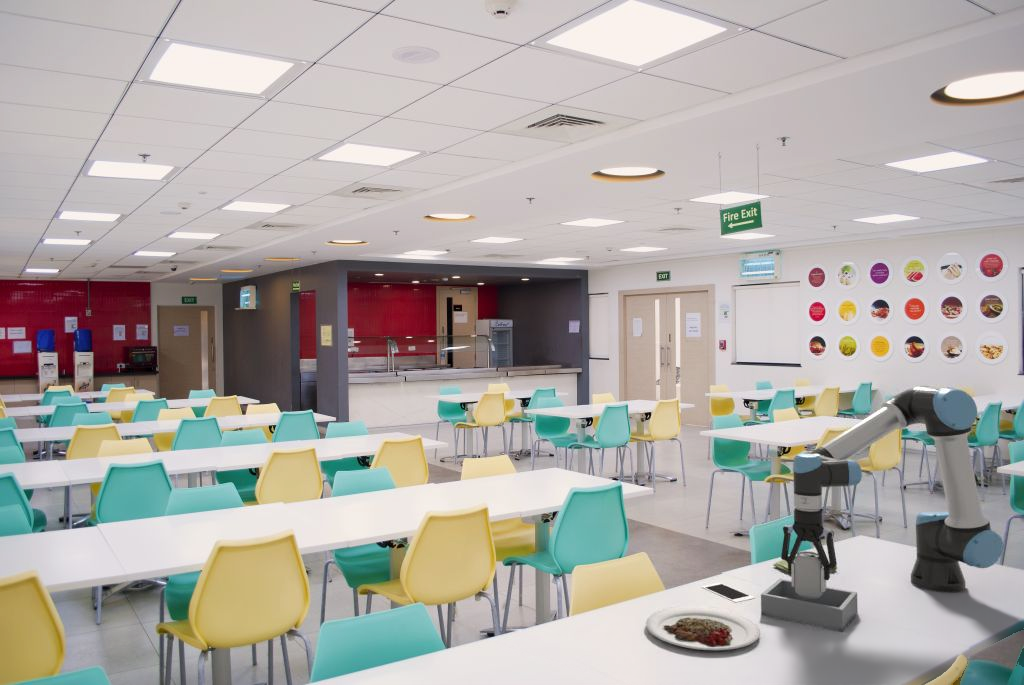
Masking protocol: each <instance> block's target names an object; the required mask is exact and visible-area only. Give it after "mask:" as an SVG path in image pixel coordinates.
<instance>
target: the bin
mask: <svg viewBox="0 0 1024 685" xmlns="http://www.w3.org/2000/svg"><path fill="white" fill-rule="evenodd" d="M760 611H761V612H760V615H761V616H763V617H768V618H773V619H779V620H781V621H782V620H783V621H788V622H793V623H798V624H802V625H807V626H810V627H811V626H812V627H817V628H820V629H825V628H826V630H830V631H834V632H840V633H844V631H845V630H846V629H847V628H848V626H849V625H850V624H849V623H851V622H852V621H853V620H854V619H855V617H856V616H857V615H858V592H856V591H852V590H846V589H842V588H841V589H840V588H835V587H830V586H826V591H825V592H823V595H821V596H820V597H819V598H816V599H809V598H804V597H801V596H799V595H798V594H797V593H796V592H795V587H792V579H789V580H788V579H785V578H784V579H783V578H779V579H777V580H776V581H775V582H774V583H772V585H770V586H768V588H767V589H765V590H764V591H763V592H762V593H761V594H760ZM856 614H857V615H856ZM855 615H856V616H855ZM852 619H853V620H852ZM851 620H852V621H851ZM848 624H849V625H848Z"/></svg>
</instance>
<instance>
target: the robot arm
mask: <svg viewBox="0 0 1024 685" xmlns="http://www.w3.org/2000/svg"><path fill="white" fill-rule="evenodd" d="M977 417H978V406H977V403H976V402H975V400H974V399H973V397H972V396H971V395H970V394H969V393H968V392H966V391H965V390H962V389H957V388H954V387H948V386H947V387H944V386H943V387H941V386H928V385H919V386H918V385H917V386H915V387H910V388H907V389H906V390H903V391H902V392H900V393H898V394H896V395H895V396H893V397H890V398H889V399H888V400H886V401H884V402H883V403H882V404H880V409H878V410H877V411H874V412H873V413H872V414H870V415H869V416H866V417H865V418H864V419H862V420H860V421H858V422H857V423H856V424H854V425H853V426H851V427H849V428H847V429H845V430H844V431H843V432H842V433H840V434H838V435H836V436H835V437H833V438H832V439H830V440H828V441H827V442H825V443H823V444H822V445H821V446H818V447H817V448H816V449H814V450H812V451H802V452H799V453H798V454H796V455H795V456H794V458H793V466H792V472H793V505H794V509H793V524H792V525H789V524H786V525H784V526H783V527H782V531H783V542H782V547H781V554H780V555H781V556H780V558H781V560H785V561H787V562H788V572H787V573H788V575H790V576H791V581H792V587H795V562H794V559H795V557H796V556H797V553H798V552H799V550H800V547H801V545H802V542H809V543H812V544H813V547H815V550H816V553H818V555H819V557H820V560H821V562H822V565H823V567H822V568H821V592H825V591H826V587H827V581H829V580H830V578H831V574H830V573H831V572H830V568H834V567H835V566H837V565H838V563H837V558H836V557H837V556H836V552H835V551H836V550H835V544H834V537H835V536H834V535H835V531H833V530H831V531H829V530H827V529H825V528H824V526H823V510H822V508H823V497H822V496H823V495H822V494H823V493H822V492H823V488H831V487H832V488H833V487H846V488H847V487H852V486H857V485H859V484H860V483H861V481H862V477H863V475H862V474H863V471H862V468H861V466H860V464H859V462H858V461H856V460H854V459H851V458H852V457H854V456H856V455H857V454H859V453H861V452H862V451H863V450H866V449H867V448H868V447H870V446H872V445H873V444H875V443H877V442H878V441H879V440H881V439H883V438H885V437H886V436H888V435H890V434H891V433H893V432H894V431H895V430H897V429H898V430H904V429H905V428H906V427H909V426H911V425H915V424H916V425H918V424H921V425H922V424H923V425H925V428H926V429H925V430H926V434H927V435H926V436H928V437H930V438H931V439H933V440H934V445H935V451H936V456H937V460H938V467H939V470H940V476H941V481H942V486H943V492H944V497H945V501H946V507H947V511H923V512H919V513H918V514H917V515H916V520H915V521H916V522H915V538H916V542H915V546H916V559H915V562H914V565H913V568H912V570H911V573H910V583H911V584H912V585H913V586H916V587H918V588H921V589H924V590H926V591H927V590H929V591H932V592H937V593H938V592H941V593H959V592H963V591H964V590H966V580H965V579H966V578H965V577H964V574H963V571H962V569H961V565H960V563H959V562H961V563H964V564H966V565H967V566H969V567H974V568H976V569H977V568H978V569H987V568H990V567H992V566H994V565H995V564H996V563H997V562H998V561H999V559H1000V558H1001V556H1002V554H1003V551H1004V541H1003V539H1002V537H1001V536H1000V535H999V533H997V532H996V531H994V530H992V528H991V523H990V519H989V517H988V516H986V515H985V514H983V513H982V508H981V503H980V502H981V501H980V498H979V492H978V487H977V482H976V478H975V472H974V468H973V466H974V465H973V461H972V456H971V451H970V446H969V445H970V444H969V441H968V436H969V435H970V433H972V431H973V430H972V426H973V425H974V424H975V422H976V420H975V419H976V418H977ZM793 531H794V533H795V534H796V536H797V537H796V538H795V542H794V543H793V547H792V548H791V551H790V543H791V542H790V541H791V536H792V533H793ZM822 535H824V538H825V539H826V541H825V542H826V547H827V548H826V549H827V554H828V555H827V554H826V552H825V549H824V547H823V545H822V540H821V536H822ZM789 551H790V554H789Z"/></svg>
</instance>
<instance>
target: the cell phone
mask: <svg viewBox="0 0 1024 685" xmlns="http://www.w3.org/2000/svg"><path fill="white" fill-rule="evenodd" d="M701 588H702V589H704V590H706V591H708V592H711V593H713V594H715V595H717V596H720V597H723V598H725V599H727V600H729V601H731V602H732V603H733V602H734V603H742V602H745V601H750V600H753V599H755V598H756V597H754V596H753V595H750V594H747V593H745V592H744V591H740V590H738V589H736V588H733V587H731V586H729V585H726V584H724V583H722V582H716V583H712V584H707V585H703V586H702V585H701Z"/></svg>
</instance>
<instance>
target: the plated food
mask: <svg viewBox="0 0 1024 685" xmlns="http://www.w3.org/2000/svg"><path fill="white" fill-rule="evenodd" d="M645 624H646V625H645V626H646V629H647V631H648V632H649V633H650V634H651V635H653V636H654V637H655V638H657V639H659V640H661V641H663V642H666V643H668V644H671V645H675V646H678V647H682V648H688V649H692V650H702V651H727V650H728V651H729V650H735V649H740V648H744V647H747V646H749V645H752V644H753V643H755V642H756V641H757V640H759V638H760V636H761V629H760V627H759V626H758V624H757V623H756V622H754V621H753V620H752V619H750V618H748V617H746V616H744V615H742V614H740V613H738V612H737V613H736V612H733V611H731V610H727V609H723V608H717V607H710V606H700V605H699V606H698V605H697V606H695V605H689V606H688V605H687V606H675V607H669V608H668V607H667V608H664V609H661V610H657V611H655V612H654V613H652V614H650V616H649V617H647V618H646V621H645Z"/></svg>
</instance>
